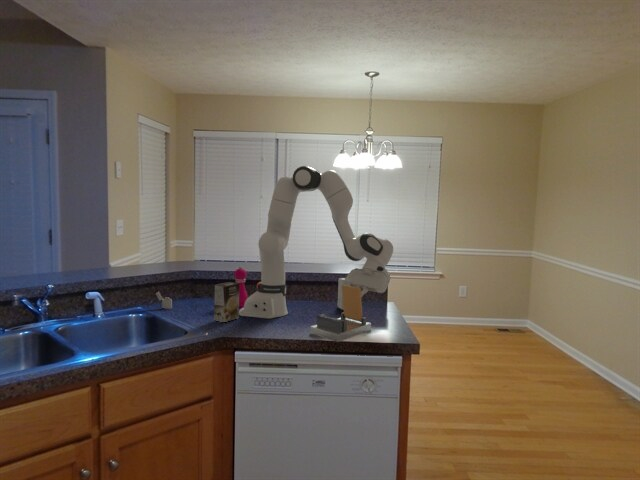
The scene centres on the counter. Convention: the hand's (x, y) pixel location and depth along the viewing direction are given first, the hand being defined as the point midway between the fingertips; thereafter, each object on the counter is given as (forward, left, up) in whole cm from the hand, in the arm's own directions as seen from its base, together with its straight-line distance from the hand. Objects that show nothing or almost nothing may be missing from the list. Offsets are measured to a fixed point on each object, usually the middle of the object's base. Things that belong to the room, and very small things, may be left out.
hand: (357, 296), depth 186 cm
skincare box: (-4, +32, -14) cm, 35 cm away
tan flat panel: (-3, -3, -3) cm, 5 cm away
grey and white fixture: (-7, -8, -13) cm, 17 cm away
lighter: (-91, +17, -14) cm, 93 cm away
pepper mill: (-57, +28, -13) cm, 64 cm away
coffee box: (-57, +2, -14) cm, 58 cm away
